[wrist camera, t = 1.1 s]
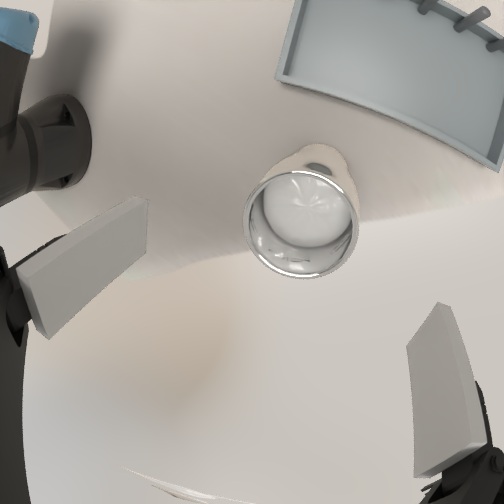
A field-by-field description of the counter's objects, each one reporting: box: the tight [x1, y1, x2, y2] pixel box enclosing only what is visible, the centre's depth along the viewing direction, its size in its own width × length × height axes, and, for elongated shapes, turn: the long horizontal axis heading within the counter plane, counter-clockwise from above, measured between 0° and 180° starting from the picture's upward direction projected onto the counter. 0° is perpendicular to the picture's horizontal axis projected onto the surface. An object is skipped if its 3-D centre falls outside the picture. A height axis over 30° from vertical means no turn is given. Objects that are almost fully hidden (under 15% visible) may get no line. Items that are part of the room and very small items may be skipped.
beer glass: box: [243, 144, 359, 279], centre depth 22 cm, size 7×7×15 cm
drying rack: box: [275, 0, 504, 173], centre depth 17 cm, size 23×14×8 cm, turn 77°
